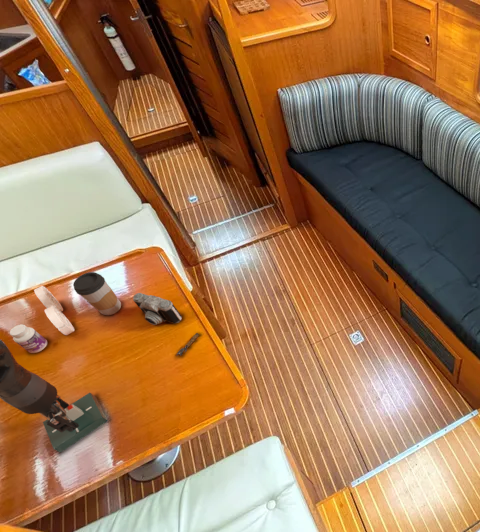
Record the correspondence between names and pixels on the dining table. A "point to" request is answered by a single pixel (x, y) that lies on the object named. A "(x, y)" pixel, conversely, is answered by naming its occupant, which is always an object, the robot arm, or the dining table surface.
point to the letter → (54, 310)
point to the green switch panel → (86, 423)
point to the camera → (157, 309)
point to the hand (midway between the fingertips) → (70, 417)
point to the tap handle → (72, 412)
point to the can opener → (188, 344)
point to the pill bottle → (28, 338)
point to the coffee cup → (97, 293)
